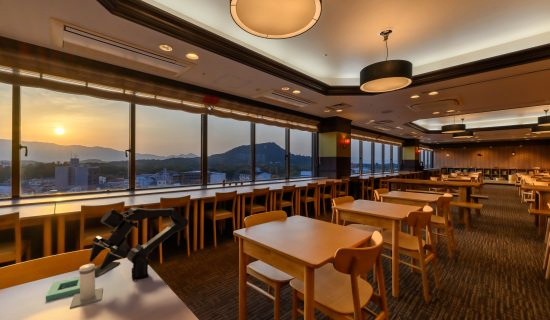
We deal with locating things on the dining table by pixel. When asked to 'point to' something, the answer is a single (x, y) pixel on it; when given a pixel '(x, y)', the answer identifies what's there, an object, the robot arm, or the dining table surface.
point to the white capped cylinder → (87, 281)
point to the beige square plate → (78, 302)
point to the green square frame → (57, 293)
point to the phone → (101, 271)
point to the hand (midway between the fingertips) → (95, 265)
